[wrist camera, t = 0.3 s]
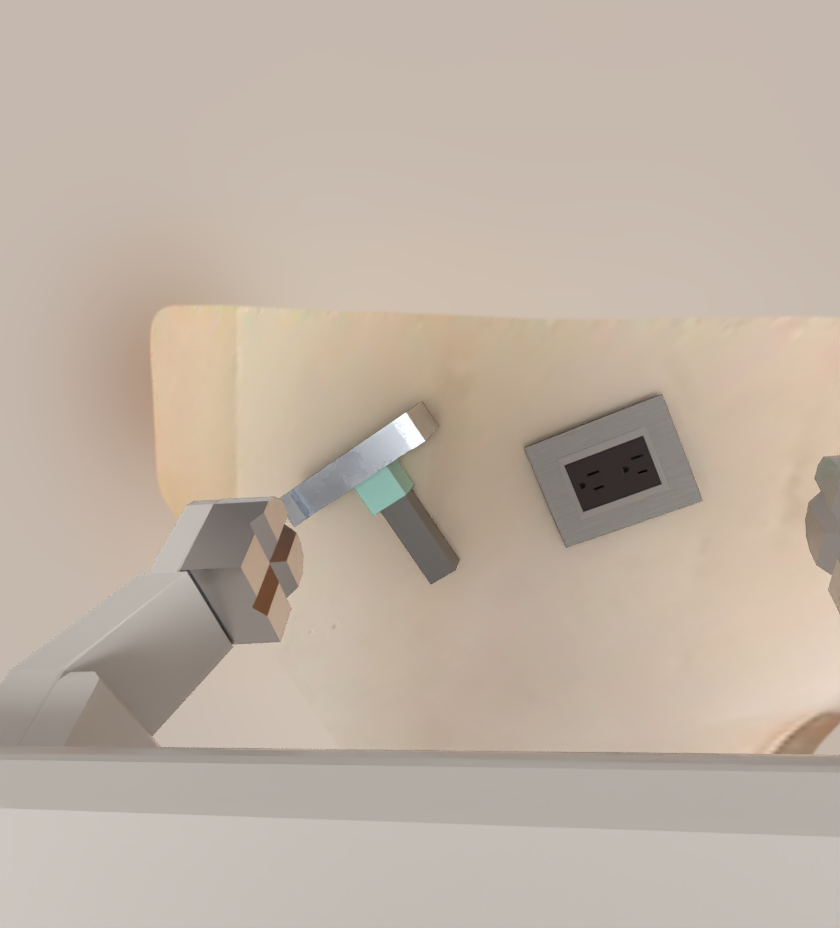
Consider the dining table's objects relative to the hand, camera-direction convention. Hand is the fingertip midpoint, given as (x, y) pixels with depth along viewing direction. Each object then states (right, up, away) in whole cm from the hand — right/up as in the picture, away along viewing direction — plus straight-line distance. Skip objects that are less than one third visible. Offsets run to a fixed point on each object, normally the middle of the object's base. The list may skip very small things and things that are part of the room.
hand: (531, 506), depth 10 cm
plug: (-3, -4, +57) cm, 57 cm away
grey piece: (-7, +2, +56) cm, 56 cm away
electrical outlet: (+17, 0, +53) cm, 55 cm away
